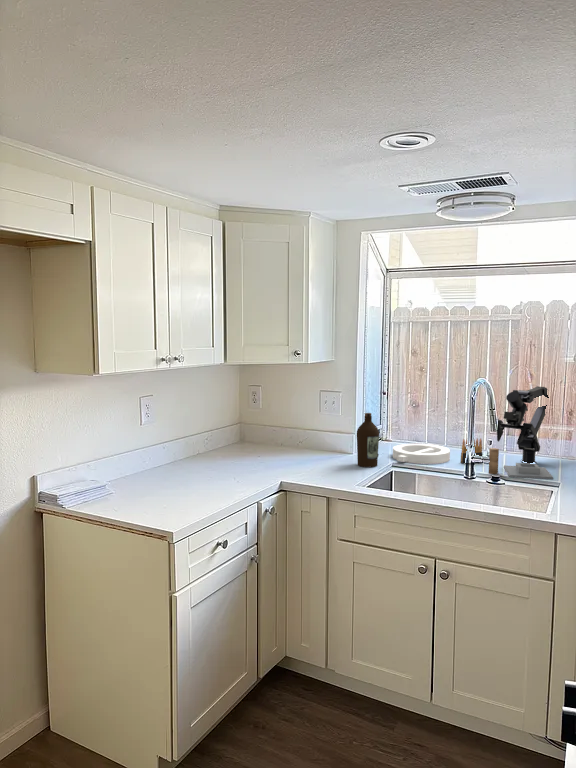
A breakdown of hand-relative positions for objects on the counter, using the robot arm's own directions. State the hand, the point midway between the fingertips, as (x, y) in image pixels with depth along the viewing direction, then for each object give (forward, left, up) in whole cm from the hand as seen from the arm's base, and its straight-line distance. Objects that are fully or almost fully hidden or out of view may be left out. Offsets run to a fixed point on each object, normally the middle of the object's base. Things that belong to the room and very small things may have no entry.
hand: (507, 442), depth 271 cm
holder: (+2, +9, -13) cm, 16 cm away
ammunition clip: (-14, -14, -13) cm, 24 cm away
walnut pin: (+5, -6, -13) cm, 16 cm away
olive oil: (+3, -63, -13) cm, 65 cm away
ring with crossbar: (-20, -38, -14) cm, 45 cm away
